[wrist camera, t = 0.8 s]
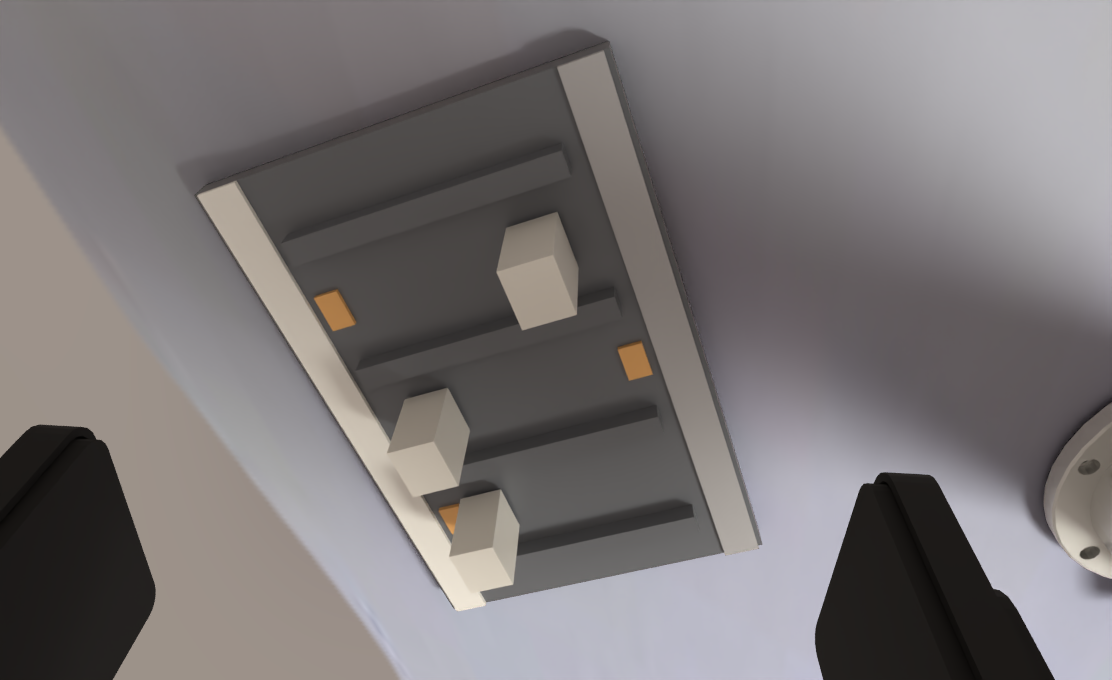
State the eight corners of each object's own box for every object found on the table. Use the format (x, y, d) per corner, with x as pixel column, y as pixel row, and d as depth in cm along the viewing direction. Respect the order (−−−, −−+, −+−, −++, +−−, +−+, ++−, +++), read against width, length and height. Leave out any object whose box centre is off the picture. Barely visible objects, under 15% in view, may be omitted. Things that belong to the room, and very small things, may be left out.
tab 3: (578, 267, 30) (576, 314, 27) (529, 282, 31) (522, 330, 28) (557, 211, 29) (553, 254, 26) (506, 227, 29) (496, 271, 27)
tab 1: (469, 430, 35) (458, 486, 32) (428, 441, 35) (412, 497, 32) (447, 387, 33) (433, 441, 31) (404, 399, 34) (386, 453, 31)
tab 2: (519, 525, 38) (513, 584, 35) (480, 534, 38) (471, 593, 35) (500, 489, 36) (492, 546, 34) (460, 498, 37) (448, 557, 34)
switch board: (758, 529, 39) (765, 557, 37) (456, 593, 42) (451, 621, 41) (608, 40, 27) (609, 53, 25) (205, 185, 30) (185, 203, 29)
